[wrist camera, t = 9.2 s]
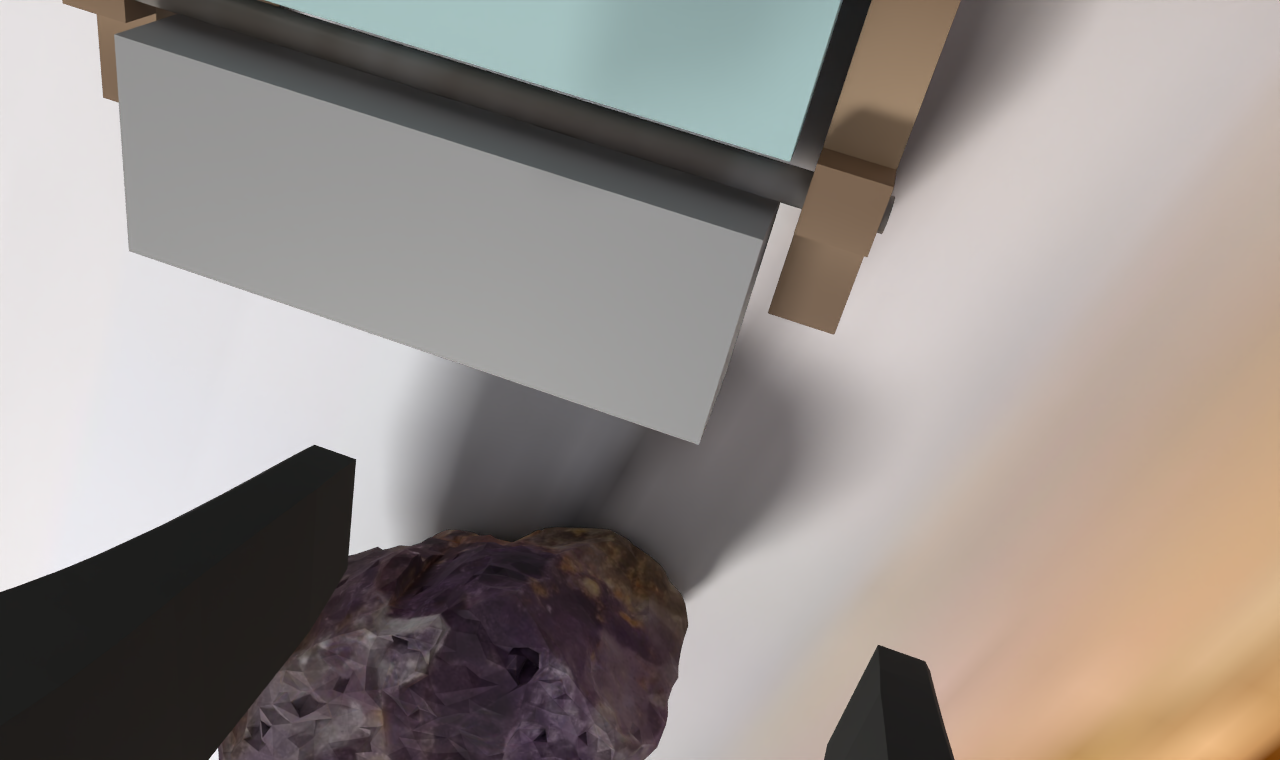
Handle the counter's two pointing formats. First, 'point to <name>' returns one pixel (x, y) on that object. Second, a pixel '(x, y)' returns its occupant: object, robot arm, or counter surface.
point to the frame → (829, 197)
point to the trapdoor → (481, 184)
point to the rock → (479, 655)
